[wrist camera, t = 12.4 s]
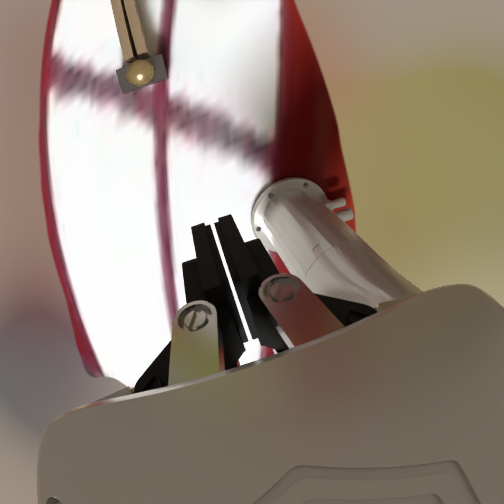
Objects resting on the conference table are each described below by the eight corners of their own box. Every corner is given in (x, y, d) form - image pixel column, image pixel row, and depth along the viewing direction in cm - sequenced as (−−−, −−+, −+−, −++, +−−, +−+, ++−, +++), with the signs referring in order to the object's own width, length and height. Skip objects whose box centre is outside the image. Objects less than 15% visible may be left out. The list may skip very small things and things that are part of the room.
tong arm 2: (116, -40, 16) (110, -54, 12) (138, 60, 25) (133, 56, 22) (109, -37, 16) (102, -51, 12) (130, 63, 25) (124, 59, 21)
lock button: (150, 57, 23) (149, 55, 21) (157, 80, 25) (156, 79, 23) (125, 66, 23) (123, 65, 21) (132, 89, 24) (129, 89, 23)
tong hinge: (162, 57, 27) (161, 53, 23) (168, 78, 28) (167, 77, 25) (121, 71, 26) (115, 70, 22) (127, 93, 28) (122, 94, 24)
